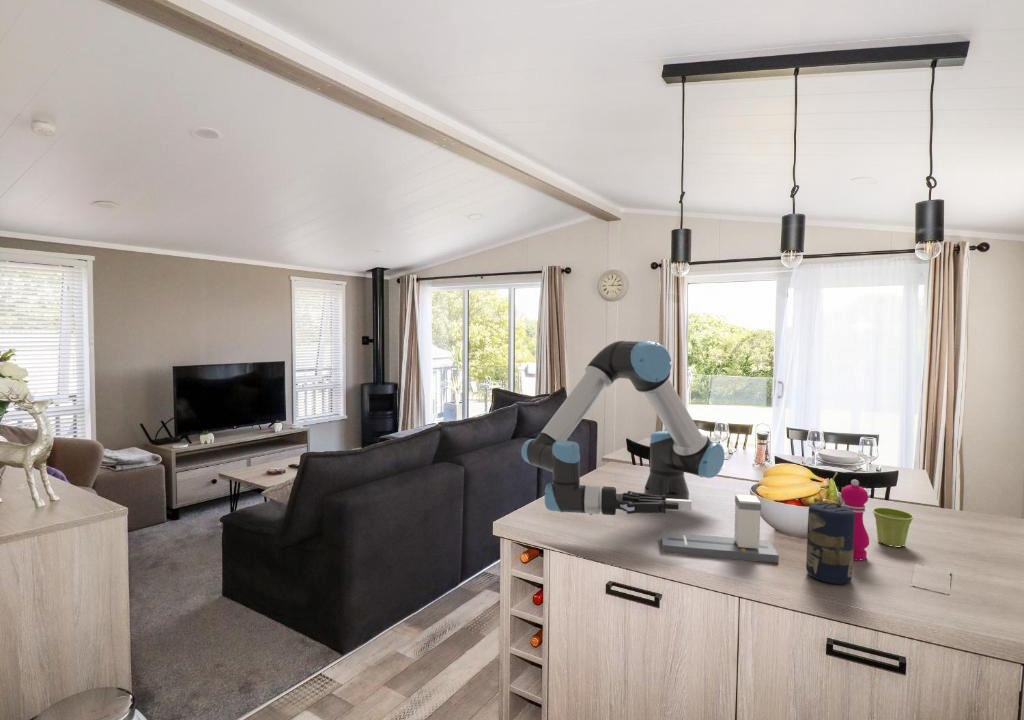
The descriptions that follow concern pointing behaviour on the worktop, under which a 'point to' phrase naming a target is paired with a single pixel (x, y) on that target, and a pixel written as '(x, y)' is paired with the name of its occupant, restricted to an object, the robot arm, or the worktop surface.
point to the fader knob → (747, 521)
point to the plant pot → (892, 525)
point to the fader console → (716, 547)
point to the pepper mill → (857, 516)
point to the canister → (830, 542)
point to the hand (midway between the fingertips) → (691, 505)
